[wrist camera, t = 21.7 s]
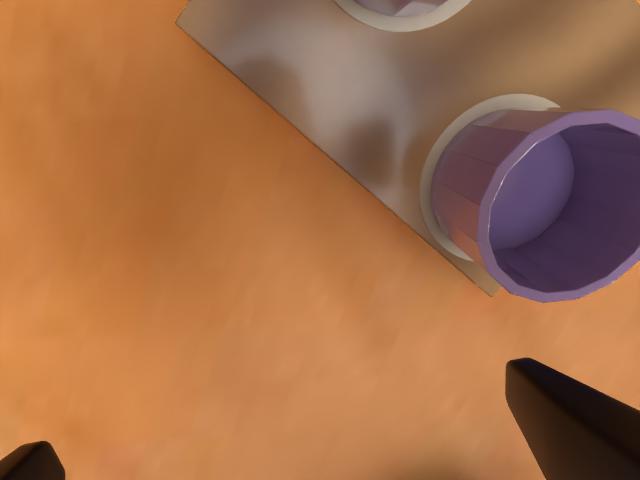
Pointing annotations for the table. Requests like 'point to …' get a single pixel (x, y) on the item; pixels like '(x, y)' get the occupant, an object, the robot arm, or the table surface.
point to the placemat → (419, 79)
